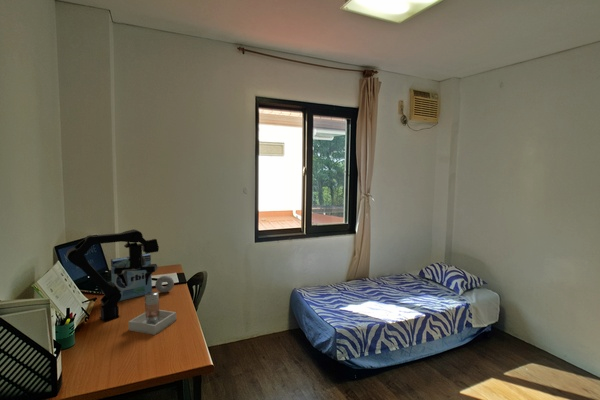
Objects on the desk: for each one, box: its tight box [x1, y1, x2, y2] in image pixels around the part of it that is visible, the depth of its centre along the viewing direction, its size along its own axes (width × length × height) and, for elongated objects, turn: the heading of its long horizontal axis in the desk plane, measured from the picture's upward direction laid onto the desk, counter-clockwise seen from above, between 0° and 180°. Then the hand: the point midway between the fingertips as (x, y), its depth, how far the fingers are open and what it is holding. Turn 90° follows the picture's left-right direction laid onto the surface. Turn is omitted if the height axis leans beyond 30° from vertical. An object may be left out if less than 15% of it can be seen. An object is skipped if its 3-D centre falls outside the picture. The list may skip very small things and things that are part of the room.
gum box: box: [110, 253, 153, 302], centre depth 175 cm, size 20×5×23 cm, turn 134°
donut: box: [154, 275, 175, 294], centre depth 182 cm, size 10×4×10 cm, turn 113°
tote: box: [127, 309, 177, 336], centre depth 143 cm, size 14×14×4 cm
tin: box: [144, 290, 160, 325], centre depth 142 cm, size 6×6×14 cm
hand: (136, 285), depth 157 cm, fingers open, 9 cm apart
